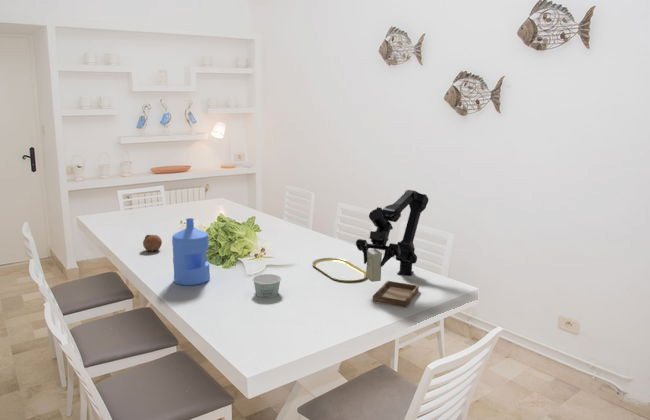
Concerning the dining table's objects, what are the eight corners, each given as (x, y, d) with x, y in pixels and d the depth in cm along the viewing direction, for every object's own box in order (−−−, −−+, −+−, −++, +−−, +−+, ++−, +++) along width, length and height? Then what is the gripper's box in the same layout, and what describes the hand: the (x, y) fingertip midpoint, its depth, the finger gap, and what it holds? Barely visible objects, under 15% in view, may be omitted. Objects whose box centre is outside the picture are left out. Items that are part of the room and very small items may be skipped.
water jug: (166, 282, 223) (163, 220, 217) (191, 272, 236) (188, 213, 230) (193, 288, 216) (191, 224, 210) (217, 277, 229) (215, 217, 223)
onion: (145, 257, 267) (135, 241, 264) (156, 248, 275) (146, 232, 272) (158, 253, 263) (148, 237, 260) (168, 243, 271) (159, 228, 268)
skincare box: (365, 277, 215) (366, 249, 212) (375, 276, 216) (375, 248, 213) (371, 282, 209) (372, 254, 206) (381, 281, 210) (382, 253, 207)
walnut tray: (387, 286, 223) (387, 280, 222) (418, 291, 217) (418, 285, 217) (372, 301, 205) (372, 295, 204) (406, 307, 199) (406, 301, 199)
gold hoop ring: (339, 286, 223) (339, 282, 223) (306, 263, 253) (306, 260, 253) (375, 280, 231) (375, 276, 231) (338, 258, 262) (339, 256, 262)
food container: (254, 299, 205) (254, 284, 203) (250, 289, 216) (250, 274, 215) (283, 297, 208) (283, 282, 206) (278, 287, 219) (278, 272, 218)
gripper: (357, 220, 214) (347, 252, 207) (399, 225, 207) (390, 259, 199) (363, 234, 223) (353, 265, 216) (404, 239, 215) (395, 271, 208)
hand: (372, 265), depth 210 cm, fingers closed on skincare box, 7 cm apart
